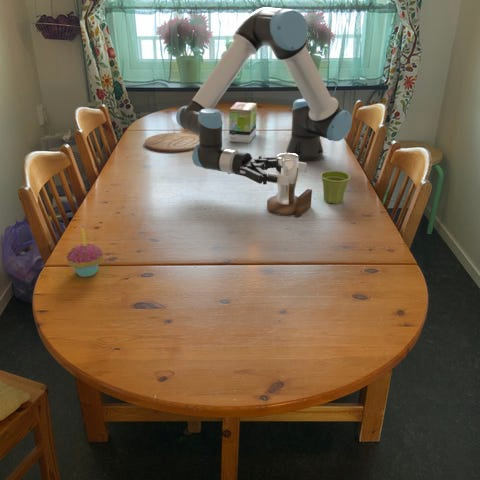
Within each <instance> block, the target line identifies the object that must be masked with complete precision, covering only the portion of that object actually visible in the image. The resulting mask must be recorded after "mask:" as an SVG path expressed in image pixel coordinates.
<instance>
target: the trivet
mask: <svg viewBox="0 0 480 480" xmlns="http://www.w3.org/2000/svg"><path fill="white" fill-rule="evenodd" d="M197 145H199V135H197V134H194V133H193V134H192V133H186V132H168V133H167V132H166V133H165V132H164V133H159V134H155V135H151V136H149V137H147V138H146V139H145V140H144V147H145V148H147V150H150V151H153V152H157V153H165V154H166V153H168V154H173V153H177V154H178V153H184V152H190V151H193V150H194V148H195V147H196V146H197Z"/></svg>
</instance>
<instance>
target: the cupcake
mask: <svg viewBox="0 0 480 480" xmlns="http://www.w3.org/2000/svg"><path fill="white" fill-rule="evenodd" d="M81 226H82V227H81V236H82V244H80V245H76V246H74V247H73V248H71V249H70V250H69V251H68V253H67V255H66V262H67V264H68V266H69V267H71V268H73V269H74V270H75V272H76V274H77V275H78V276H79V277H82V278H83V277H84V278H87V277H92V276H94V275H95V274H96V273H97V272H98V267H99V264H100V262H102V261H103V259H104V253H103V251H102V249H101V248H100V247H99V246H97V245H95V244H90V243H87V242H86V233H85V232H86V231H85V227H84V224H82V225H81Z"/></svg>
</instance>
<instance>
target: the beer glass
mask: <svg viewBox="0 0 480 480" xmlns="http://www.w3.org/2000/svg"><path fill="white" fill-rule="evenodd" d="M276 157H277V161H276V168H275V174H280V175H285V176H289V185H288V186H287V185H282V184H277V183H276V185H277V195H276V196H277V200H276V202H277V203H278V204H280V205H285V206H288V205H293V204H295V202H296V200H295V196H296V188H297V182H298V177H299V171H298V170H299V162H300V161H299V160H298V155H296V154H292V153H286V152H284V153H279V154H277V155H276Z"/></svg>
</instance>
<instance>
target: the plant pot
mask: <svg viewBox="0 0 480 480" xmlns="http://www.w3.org/2000/svg"><path fill="white" fill-rule="evenodd" d="M320 178H321V182H322V188H323V200H324V201H325V202H326V203H328V204H331V203H332V204H335V205H336V204H341V203H342V202H343V201H344V198H345V193H346V189H347V185H348V183H349V180H350V179H351V175H350V174H349V173H347V172H343V171H341V170H339V171H337V170H328V171H324V172H321V174H320Z"/></svg>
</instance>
